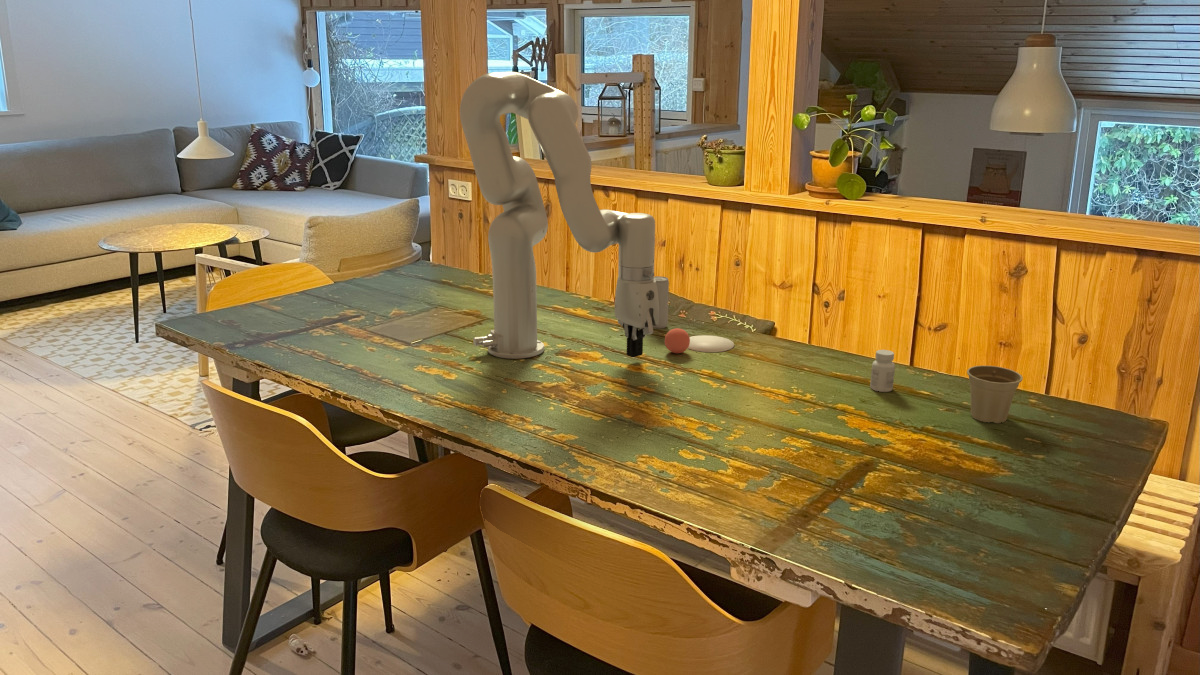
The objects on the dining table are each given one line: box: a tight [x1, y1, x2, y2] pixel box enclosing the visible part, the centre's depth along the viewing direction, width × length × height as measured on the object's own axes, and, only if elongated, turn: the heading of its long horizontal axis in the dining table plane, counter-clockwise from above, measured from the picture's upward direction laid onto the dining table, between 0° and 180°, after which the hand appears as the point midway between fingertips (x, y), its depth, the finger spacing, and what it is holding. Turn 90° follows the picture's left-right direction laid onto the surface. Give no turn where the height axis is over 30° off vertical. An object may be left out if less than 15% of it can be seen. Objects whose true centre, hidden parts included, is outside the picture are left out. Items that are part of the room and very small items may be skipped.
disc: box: [687, 335, 735, 353], centre depth 213 cm, size 12×12×1 cm
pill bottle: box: [869, 349, 896, 393], centre depth 185 cm, size 4×4×8 cm
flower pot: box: [966, 365, 1024, 424], centre depth 171 cm, size 9×9×9 cm
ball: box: [664, 328, 690, 354], centre depth 206 cm, size 6×6×6 cm
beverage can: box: [652, 275, 670, 330], centre depth 224 cm, size 5×5×12 cm
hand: (634, 355), depth 200 cm, fingers closed
